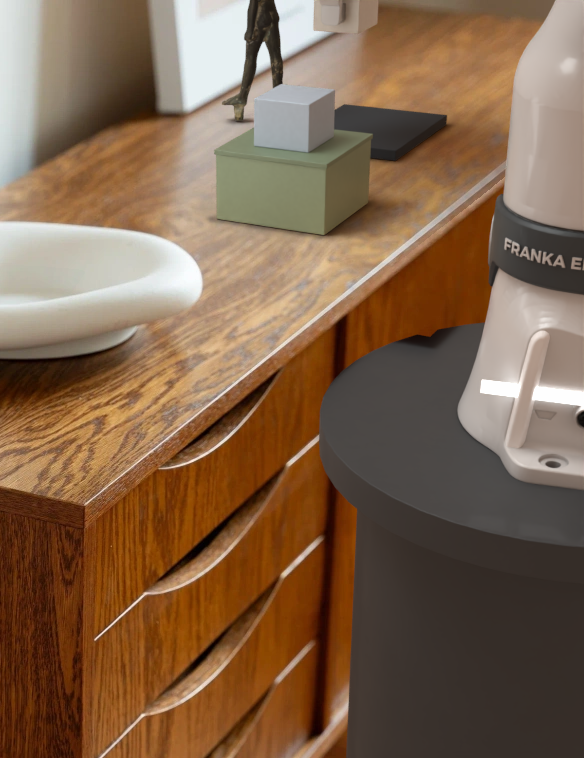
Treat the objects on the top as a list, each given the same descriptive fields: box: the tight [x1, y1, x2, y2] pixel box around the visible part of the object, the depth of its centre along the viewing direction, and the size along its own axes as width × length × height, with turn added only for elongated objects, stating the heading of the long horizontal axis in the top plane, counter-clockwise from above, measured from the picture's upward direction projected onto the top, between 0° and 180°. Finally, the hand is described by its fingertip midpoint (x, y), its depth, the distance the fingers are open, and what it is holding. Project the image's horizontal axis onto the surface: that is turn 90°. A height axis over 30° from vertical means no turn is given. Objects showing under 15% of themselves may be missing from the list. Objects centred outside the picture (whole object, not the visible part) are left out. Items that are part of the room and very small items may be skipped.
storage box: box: [213, 127, 373, 236], centre depth 126 cm, size 10×9×6 cm
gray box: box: [253, 83, 336, 153], centre depth 124 cm, size 5×5×4 cm
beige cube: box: [312, 0, 379, 35], centre depth 138 cm, size 4×4×4 cm
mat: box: [334, 103, 448, 162], centre depth 146 cm, size 11×13×1 cm
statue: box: [221, 0, 284, 122], centre depth 148 cm, size 5×6×20 cm
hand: (346, 17), depth 138 cm, fingers closed on beige cube, 4 cm apart
